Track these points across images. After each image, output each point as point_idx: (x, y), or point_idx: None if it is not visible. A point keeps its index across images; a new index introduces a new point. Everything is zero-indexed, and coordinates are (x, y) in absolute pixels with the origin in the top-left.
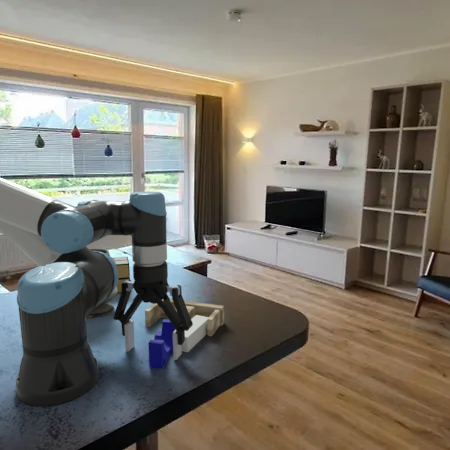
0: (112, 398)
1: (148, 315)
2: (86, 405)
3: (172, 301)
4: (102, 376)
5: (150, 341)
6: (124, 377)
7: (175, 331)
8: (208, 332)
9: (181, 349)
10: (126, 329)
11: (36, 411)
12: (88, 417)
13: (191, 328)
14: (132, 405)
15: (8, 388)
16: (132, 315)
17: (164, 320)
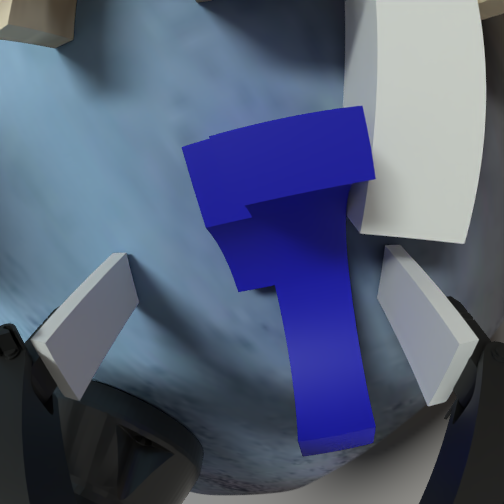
0: (271, 453)
1: (26, 30)
2: (234, 466)
3: None
4: (183, 416)
5: (307, 450)
6: (246, 412)
7: (443, 393)
8: None
9: (409, 255)
10: (85, 379)
11: None
12: (262, 476)
13: (454, 99)
14: (326, 453)
15: None
16: (23, 375)
17: (237, 167)
